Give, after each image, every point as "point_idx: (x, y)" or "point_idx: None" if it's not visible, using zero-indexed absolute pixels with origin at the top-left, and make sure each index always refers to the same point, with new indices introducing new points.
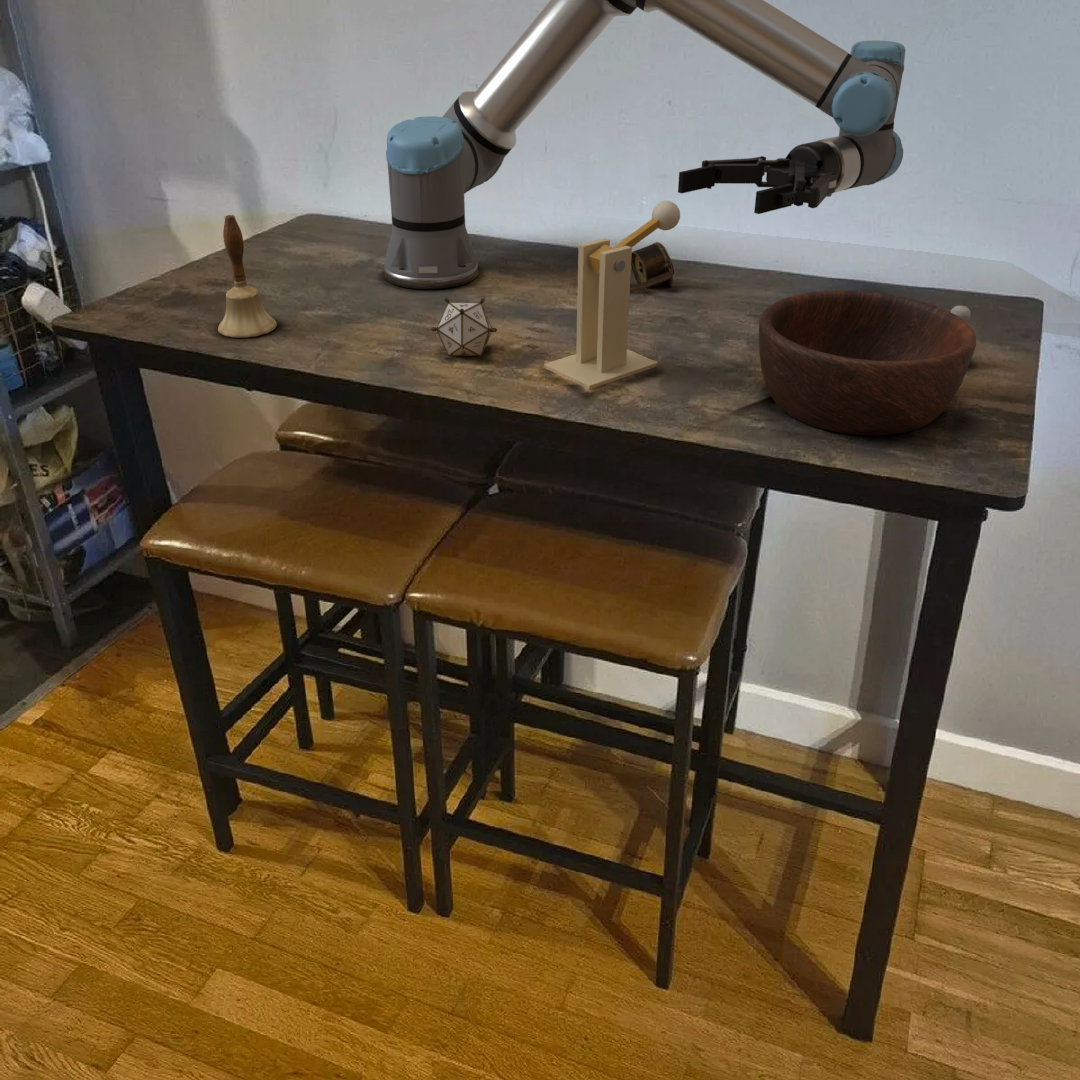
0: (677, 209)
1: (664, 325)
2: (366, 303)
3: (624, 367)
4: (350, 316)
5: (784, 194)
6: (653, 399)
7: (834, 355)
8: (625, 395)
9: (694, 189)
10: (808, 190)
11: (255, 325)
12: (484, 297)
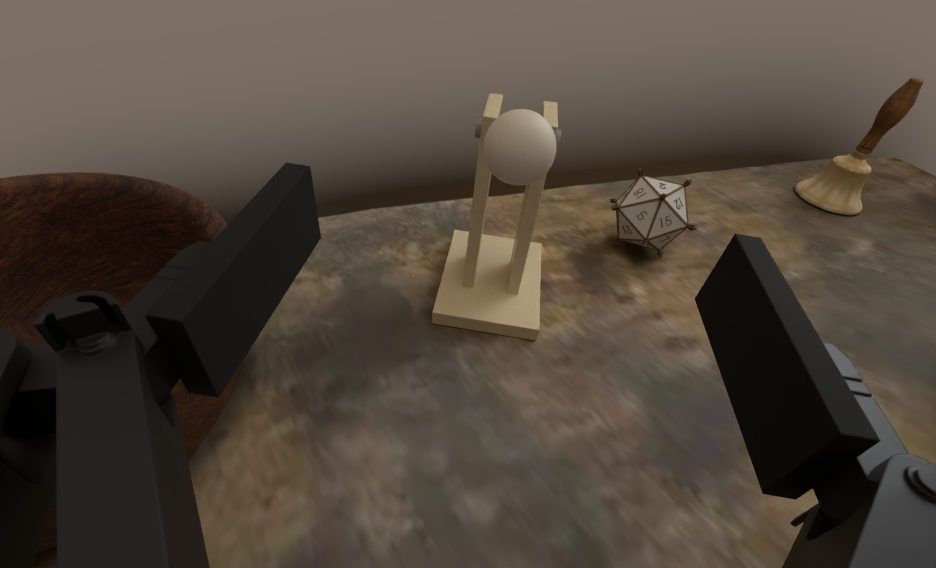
0: (492, 129)
1: (574, 504)
2: (889, 288)
3: (458, 278)
4: (836, 255)
5: (196, 249)
6: (385, 265)
7: (69, 175)
8: (420, 258)
9: (716, 352)
10: (40, 370)
11: (808, 186)
12: (664, 194)
